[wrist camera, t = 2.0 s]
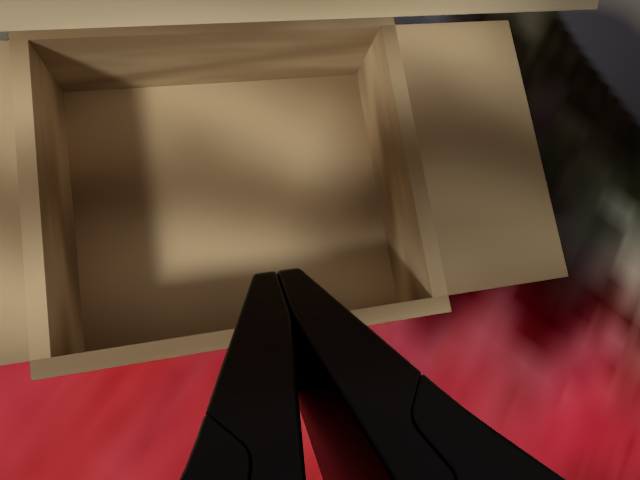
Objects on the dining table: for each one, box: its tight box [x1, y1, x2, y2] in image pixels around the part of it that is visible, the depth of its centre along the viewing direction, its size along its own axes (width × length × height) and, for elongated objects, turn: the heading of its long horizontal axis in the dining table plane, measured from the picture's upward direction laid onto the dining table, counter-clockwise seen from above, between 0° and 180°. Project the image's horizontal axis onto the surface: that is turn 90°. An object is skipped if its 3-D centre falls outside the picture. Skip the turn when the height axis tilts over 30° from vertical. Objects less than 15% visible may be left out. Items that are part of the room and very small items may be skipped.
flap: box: [0, 0, 599, 31], centre depth 13 cm, size 12×13×1 cm
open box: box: [0, 17, 568, 381], centre depth 20 cm, size 12×24×4 cm, turn 99°
